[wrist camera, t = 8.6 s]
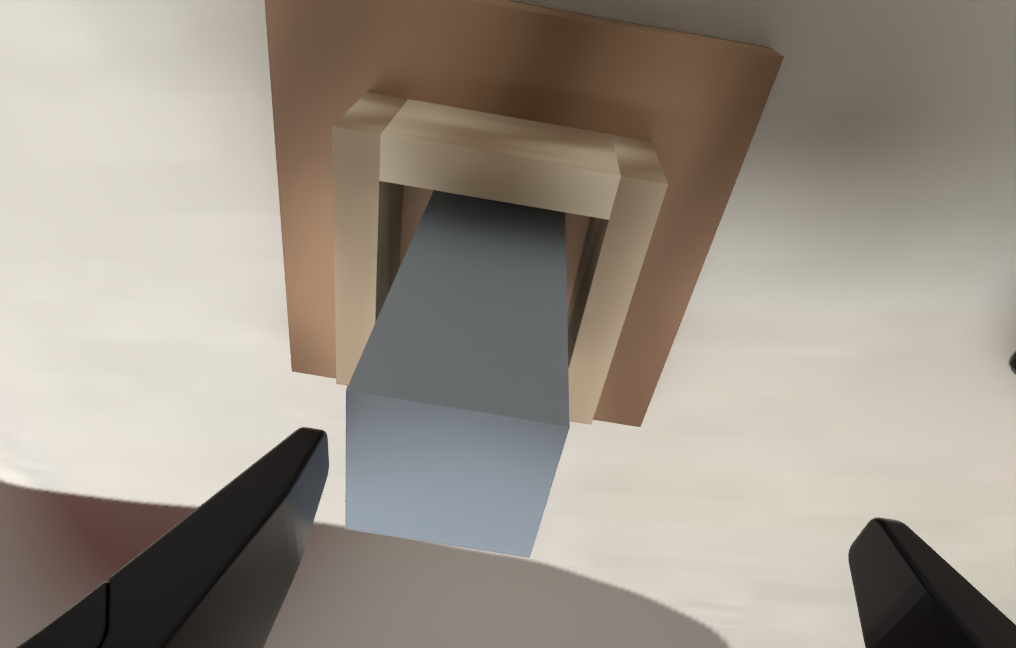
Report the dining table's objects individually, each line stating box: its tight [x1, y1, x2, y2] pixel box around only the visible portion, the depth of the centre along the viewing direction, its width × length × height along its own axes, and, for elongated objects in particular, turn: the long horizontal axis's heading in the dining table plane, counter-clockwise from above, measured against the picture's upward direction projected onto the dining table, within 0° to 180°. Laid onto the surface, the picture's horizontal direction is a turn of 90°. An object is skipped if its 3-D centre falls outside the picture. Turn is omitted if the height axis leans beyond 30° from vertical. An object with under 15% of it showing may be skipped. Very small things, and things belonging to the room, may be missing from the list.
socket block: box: [265, 0, 784, 427], centre depth 19 cm, size 14×14×4 cm
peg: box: [346, 190, 569, 558], centre depth 16 cm, size 4×4×10 cm
